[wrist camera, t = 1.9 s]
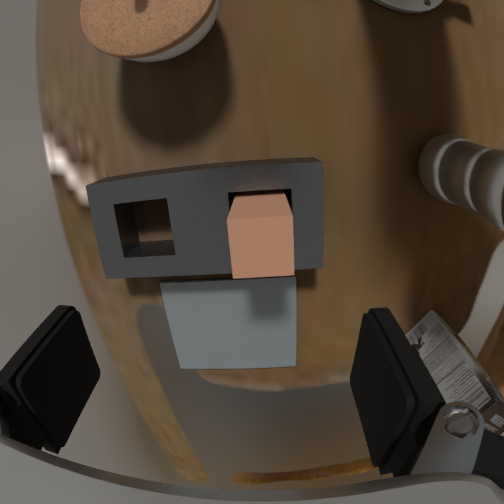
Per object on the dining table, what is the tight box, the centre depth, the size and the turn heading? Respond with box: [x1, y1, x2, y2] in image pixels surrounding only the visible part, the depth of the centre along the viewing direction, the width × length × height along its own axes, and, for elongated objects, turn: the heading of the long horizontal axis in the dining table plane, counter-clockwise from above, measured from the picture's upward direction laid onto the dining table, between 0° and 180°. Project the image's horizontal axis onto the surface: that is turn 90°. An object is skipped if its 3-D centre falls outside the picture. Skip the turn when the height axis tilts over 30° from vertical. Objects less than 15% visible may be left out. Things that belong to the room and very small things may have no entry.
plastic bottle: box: [418, 134, 504, 232], centre depth 17 cm, size 6×7×20 cm
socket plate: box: [86, 157, 323, 279], centre depth 27 cm, size 20×9×4 cm, turn 94°
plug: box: [227, 189, 294, 279], centre depth 24 cm, size 4×4×10 cm
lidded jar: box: [80, 0, 220, 62], centre depth 18 cm, size 11×11×9 cm
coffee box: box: [405, 309, 504, 435], centre depth 27 cm, size 9×6×16 cm
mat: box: [160, 275, 296, 369], centre depth 34 cm, size 14×12×1 cm
